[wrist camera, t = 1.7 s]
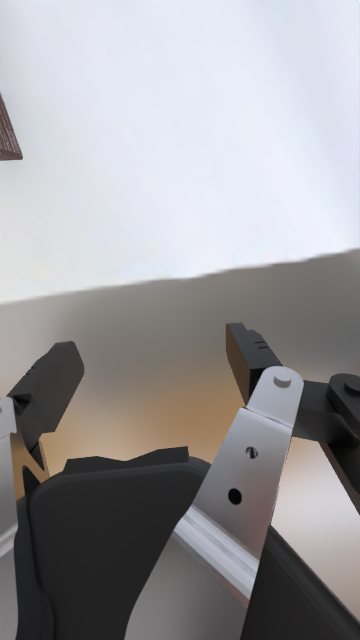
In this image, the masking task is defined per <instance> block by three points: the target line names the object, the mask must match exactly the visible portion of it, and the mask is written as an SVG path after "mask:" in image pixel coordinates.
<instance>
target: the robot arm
mask: <svg viewBox="0 0 360 640" xmlns="http://www.w3.org/2000/svg"><path fill="white" fill-rule="evenodd" d="M226 352H227V358H228V361H229V364H230V366H231V369H232V371H233V374H234V377H235V379H236V382H237V385H238V387H239V390H240V393H241V395H242V398H243V400H244V403H245V406H246V408H245V407H241V409H240V410H239V411H238V413H237V415H236V417H235V419H234V421H233V423H232V425H231V427H230V430H229V431H228V433H227V435H226V437H225V439H224V441H223V443H222V445H221V447H220V449H219V451H218V453H217V455H216V457H215V459H214V461H213V463H212V464H210V463H208V462H206V461H204V460H202V459H199V458H196V457H191V456H189V453H188V446H185V447H176V448H168V449H158V450H155V451H153V452H150V453H148V454H145V455H142V456H139V457H137V458H134V459H131V460H128V461H120V460H114V459H109V458H104V457H98V456H94V457H85V458H75V459H67V462H66V464H65V467H64V470H63V471H62V472H60V473H58V474H56V475H54V476H52V477H50V474H49V470H48V466H47V461H46V457H45V453H44V449H43V445H42V442H41V440H40V439H39V438H40V436H41V434H42V433H49V432H55V430H56V428H57V426H58V424H59V422H60V420H61V418H62V416H63V414H64V412H65V410H66V408H67V406H68V404H69V402H70V400H71V398H72V397H73V395H74V393H75V391H76V389H77V387H78V385H79V383H80V381H81V379H82V377H83V375H84V364H83V362H82V359H81V357H80V354H79V352H78V350H77V347H76V345H75V343H74V342H73V341H66V342H58V343H55V345H54V346H53V347H52V348H51V349H50V350H49V352H48V353H46V354H45V355H44V356H42V357H41V358H40V359H38V360H37V361H36V362H35V363H34V365H33V366H32V367H31V369H29V370H28V371H27V373H26V375H24V376H23V377H22V378H21V380H20V381H19V382H18V383H17V384H16V385H15V387H14V388H13V389H12V390H11V391H10V393H9V394H8V395H7V396H6V397H1V398H0V640H360V621H359V620H358V619H357V618H356V617H355V616H354V615H353V614H352V613H351V612H350V610H349V609H347V607H346V606H345V605H344V604H343V603H342V602H341V601H340V600H339V598H338V597H337V596H336V595H335V594H334V593H333V592H332V591H331V590H330V589H329V588H328V587H327V586H326V584H325V583H324V582H323V581H322V580H321V579H320V578H319V577H318V576H317V575H316V574H315V573H314V571H313V570H312V569H311V568H310V567H309V566H308V565H307V564H306V563H305V561H304V560H303V559H302V558H301V557H300V556H299V555H298V554H297V553H296V552H295V551H294V549H293V548H292V547H291V546H290V545H289V544H288V543H287V542H286V541H285V540H284V539H283V537H282V536H281V535H280V534H279V533H278V532H277V531H276V530H275V529H274V528H273V527H272V526H271V521H272V517H273V513H274V509H275V504H276V500H277V496H278V492H279V488H280V484H281V479H282V475H283V471H284V467H285V463H286V459H287V455H288V451H289V446H290V442H291V438H292V436H293V437H298V438H303V439H308V440H313V441H318V442H319V444H320V446H321V448H322V449H323V451H324V453H325V455H326V456H327V458H328V460H329V462H330V464H331V465H332V467H333V469H334V471H335V473H336V474H337V476H338V478H339V480H340V481H341V483H342V485H343V486H344V488H345V490H346V492H347V493H348V495H349V497H350V499H351V501H352V503H353V504H354V506H355V508H356V510H357V512H358V513H359V515H360V377H359V376H356V375H351V374H336V375H334V376H332V377H331V378H330V381H329V383H321V382H313V381H306V380H303V379H302V378H301V376H300V375H299V374H298V373H296V372H295V371H293V370H291V369H289V368H286V367H283V365H282V364H281V363H280V361H279V360H278V359H277V357H276V356H275V354H274V353H273V351H272V350H271V349H270V348H269V346H268V344H267V343H266V342H265V340H264V339H263V337H262V336H261V335H260V334H259V333H257V332H256V331H254V330H246V328H245V327H244V325H243V324H242V322H232V323H227V324H226Z"/></svg>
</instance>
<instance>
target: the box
mask: <svg viewBox="0 0 360 640" xmlns="http://www.w3.org/2000/svg"><path fill="white" fill-rule="evenodd" d="M22 159H23V156H22V153H21V150H20V147H19V144H18V141H17V139H16V136H15V133H14V130H13V128H12V125H11V122H10V119H9V116H8V113H7V110H6V107H5V103H4V101H3V98H2V95H1V93H0V161H3V160H22Z"/></svg>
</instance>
